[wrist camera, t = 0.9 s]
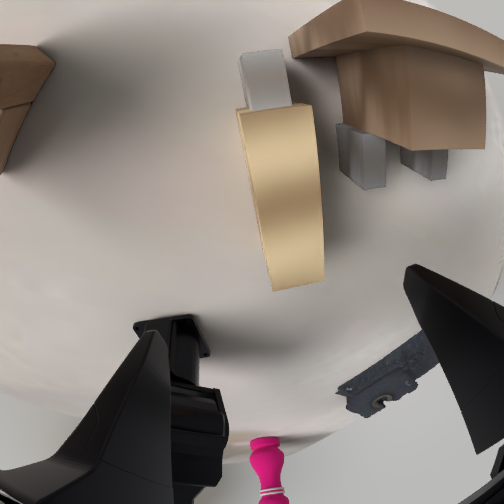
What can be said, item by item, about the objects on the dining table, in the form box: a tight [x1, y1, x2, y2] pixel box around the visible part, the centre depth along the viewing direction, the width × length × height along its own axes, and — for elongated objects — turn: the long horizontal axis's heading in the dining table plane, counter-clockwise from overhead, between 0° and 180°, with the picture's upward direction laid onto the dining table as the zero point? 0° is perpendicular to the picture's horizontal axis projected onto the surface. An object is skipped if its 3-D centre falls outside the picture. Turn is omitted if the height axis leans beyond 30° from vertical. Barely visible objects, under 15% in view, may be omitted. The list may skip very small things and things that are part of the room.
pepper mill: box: [250, 437, 289, 504], centre depth 41 cm, size 7×7×20 cm
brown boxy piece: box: [288, 0, 504, 190], centre depth 12 cm, size 10×12×10 cm
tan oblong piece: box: [236, 49, 325, 291], centre depth 16 cm, size 14×4×5 cm, turn 10°
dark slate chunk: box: [335, 330, 439, 418], centre depth 36 cm, size 15×22×5 cm
